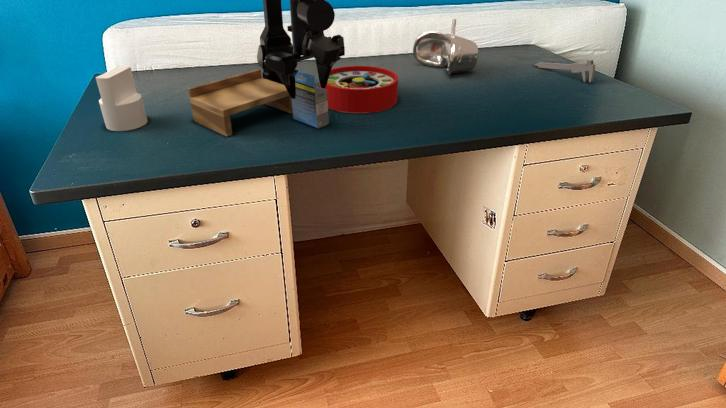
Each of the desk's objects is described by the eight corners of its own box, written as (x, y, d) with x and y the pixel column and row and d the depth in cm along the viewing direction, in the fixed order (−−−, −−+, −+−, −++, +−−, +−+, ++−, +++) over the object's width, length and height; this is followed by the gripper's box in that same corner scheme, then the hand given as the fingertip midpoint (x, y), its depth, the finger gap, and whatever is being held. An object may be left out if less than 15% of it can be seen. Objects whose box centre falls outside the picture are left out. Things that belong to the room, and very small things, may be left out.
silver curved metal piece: (411, 64, 157) (413, 16, 150) (439, 59, 163) (442, 12, 155) (449, 79, 144) (454, 27, 137) (478, 73, 150) (484, 22, 142)
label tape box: (329, 124, 116) (327, 71, 110) (316, 129, 113) (314, 75, 107) (304, 114, 121) (301, 63, 115) (291, 119, 119) (287, 67, 112)
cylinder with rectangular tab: (133, 132, 112) (120, 79, 106) (97, 129, 113) (81, 77, 107) (155, 117, 120) (143, 67, 113) (120, 115, 121) (107, 65, 115)
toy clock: (304, 82, 123) (341, 62, 139) (305, 105, 126) (341, 82, 142) (379, 94, 116) (409, 71, 132) (378, 118, 119) (408, 93, 135)
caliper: (592, 83, 142) (598, 61, 139) (590, 84, 141) (595, 61, 138) (536, 65, 157) (540, 45, 153) (534, 66, 156) (537, 45, 153)
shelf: (261, 99, 130) (258, 68, 126) (295, 111, 123) (293, 79, 119) (193, 121, 117) (187, 88, 113) (226, 136, 110) (221, 101, 106)
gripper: (296, 35, 95) (302, 113, 103) (362, 19, 107) (362, 91, 115) (259, 26, 101) (267, 100, 110) (326, 12, 113) (328, 80, 121)
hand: (308, 93), depth 114 cm, fingers open, 9 cm apart
